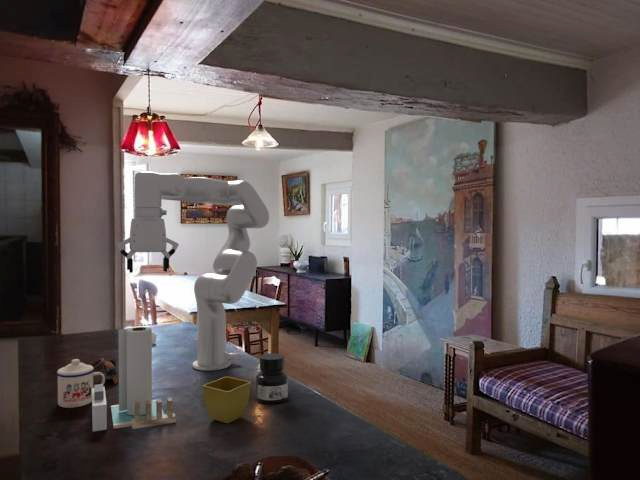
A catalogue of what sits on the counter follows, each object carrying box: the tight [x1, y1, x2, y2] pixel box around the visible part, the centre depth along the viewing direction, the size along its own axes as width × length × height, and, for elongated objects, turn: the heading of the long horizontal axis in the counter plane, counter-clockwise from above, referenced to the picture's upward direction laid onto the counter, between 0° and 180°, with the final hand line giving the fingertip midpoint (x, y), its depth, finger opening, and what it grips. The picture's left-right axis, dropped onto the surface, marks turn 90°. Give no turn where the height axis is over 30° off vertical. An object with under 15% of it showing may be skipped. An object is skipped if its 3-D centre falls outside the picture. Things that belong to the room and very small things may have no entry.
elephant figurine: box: [152, 330, 160, 345], centre depth 202 cm, size 7×8×6 cm
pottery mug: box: [89, 357, 119, 385], centre depth 154 cm, size 12×10×8 cm
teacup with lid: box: [56, 358, 106, 409], centre depth 136 cm, size 12×9×12 cm
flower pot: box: [202, 376, 252, 424], centre depth 125 cm, size 9×9×9 cm
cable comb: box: [131, 397, 177, 430], centre depth 122 cm, size 10×2×6 cm, turn 115°
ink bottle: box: [255, 353, 289, 405], centre depth 140 cm, size 10×9×12 cm
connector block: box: [91, 383, 108, 433], centre depth 124 cm, size 3×14×8 cm, turn 25°
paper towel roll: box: [118, 326, 153, 416], centre depth 128 cm, size 7×6×21 cm
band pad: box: [110, 399, 165, 430], centre depth 128 cm, size 12×14×1 cm
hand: (148, 271), depth 149 cm, fingers open, 9 cm apart
